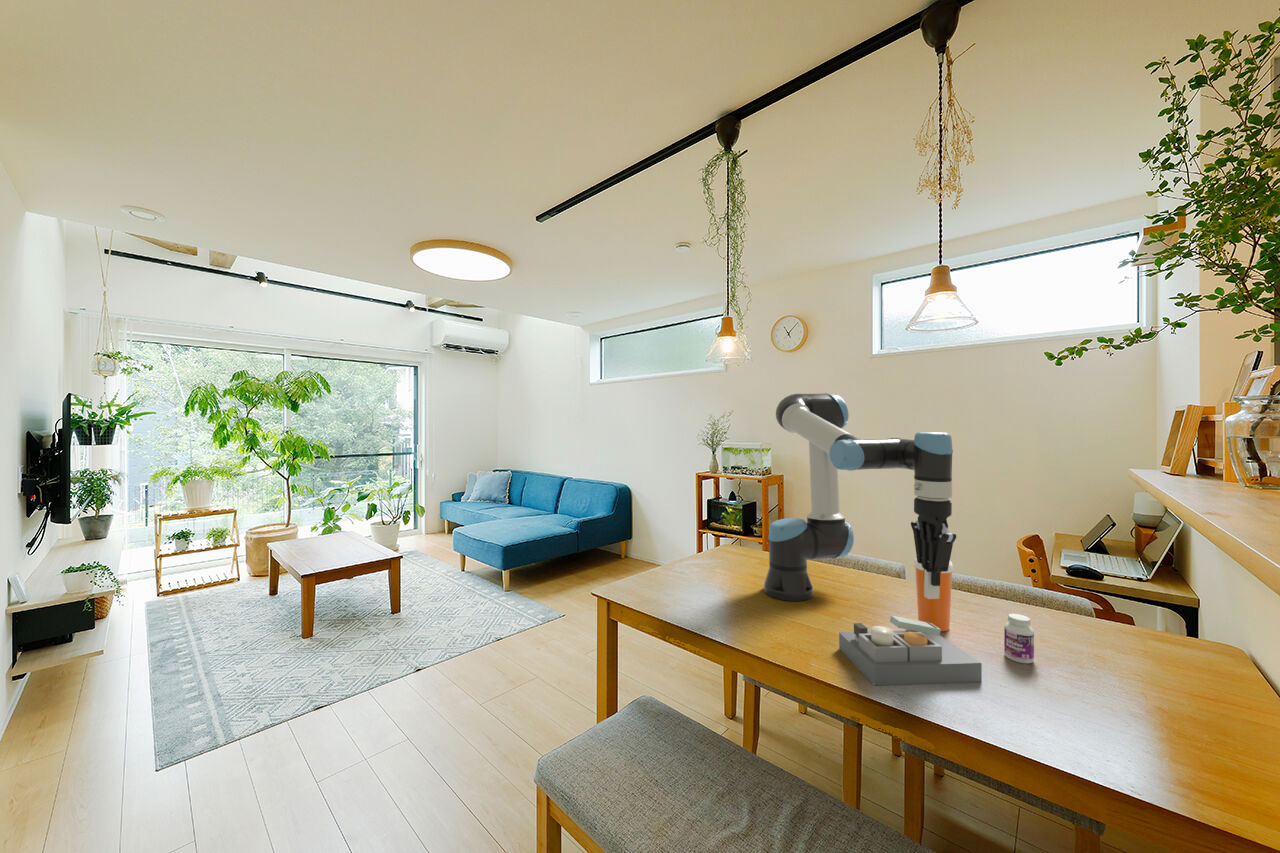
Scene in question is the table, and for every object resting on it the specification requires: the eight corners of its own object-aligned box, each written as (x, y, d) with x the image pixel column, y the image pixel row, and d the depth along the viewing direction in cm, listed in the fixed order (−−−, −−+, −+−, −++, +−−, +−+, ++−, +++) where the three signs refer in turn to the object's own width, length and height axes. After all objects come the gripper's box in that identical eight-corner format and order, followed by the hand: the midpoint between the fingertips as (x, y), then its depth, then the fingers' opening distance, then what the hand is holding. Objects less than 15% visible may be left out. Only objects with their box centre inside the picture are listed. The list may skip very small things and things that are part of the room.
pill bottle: (1003, 659, 108) (1003, 617, 108) (1005, 650, 112) (1004, 610, 112) (1034, 666, 105) (1033, 623, 105) (1034, 657, 109) (1034, 616, 109)
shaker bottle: (960, 634, 121) (959, 557, 121) (921, 631, 123) (921, 555, 123) (944, 620, 130) (944, 548, 130) (909, 618, 131) (908, 546, 131)
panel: (839, 648, 114) (839, 620, 114) (931, 646, 115) (931, 617, 115) (874, 685, 98) (874, 651, 98) (981, 681, 99) (981, 648, 99)
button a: (867, 639, 105) (867, 626, 105) (886, 639, 105) (886, 625, 105) (877, 649, 101) (877, 635, 101) (897, 648, 101) (897, 634, 101)
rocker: (889, 621, 112) (891, 614, 112) (929, 629, 112) (931, 622, 112) (898, 627, 108) (899, 620, 108) (939, 635, 109) (941, 628, 109)
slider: (853, 633, 111) (853, 623, 111) (861, 633, 111) (861, 623, 111) (859, 638, 108) (859, 628, 108) (867, 638, 108) (867, 628, 108)
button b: (900, 645, 106) (899, 631, 106) (919, 644, 106) (918, 631, 106) (912, 654, 101) (911, 640, 101) (931, 654, 101) (931, 640, 101)
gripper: (900, 493, 117) (899, 587, 117) (935, 503, 104) (934, 609, 104) (929, 493, 117) (929, 587, 117) (968, 503, 104) (967, 608, 104)
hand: (931, 597), depth 111 cm, fingers closed
